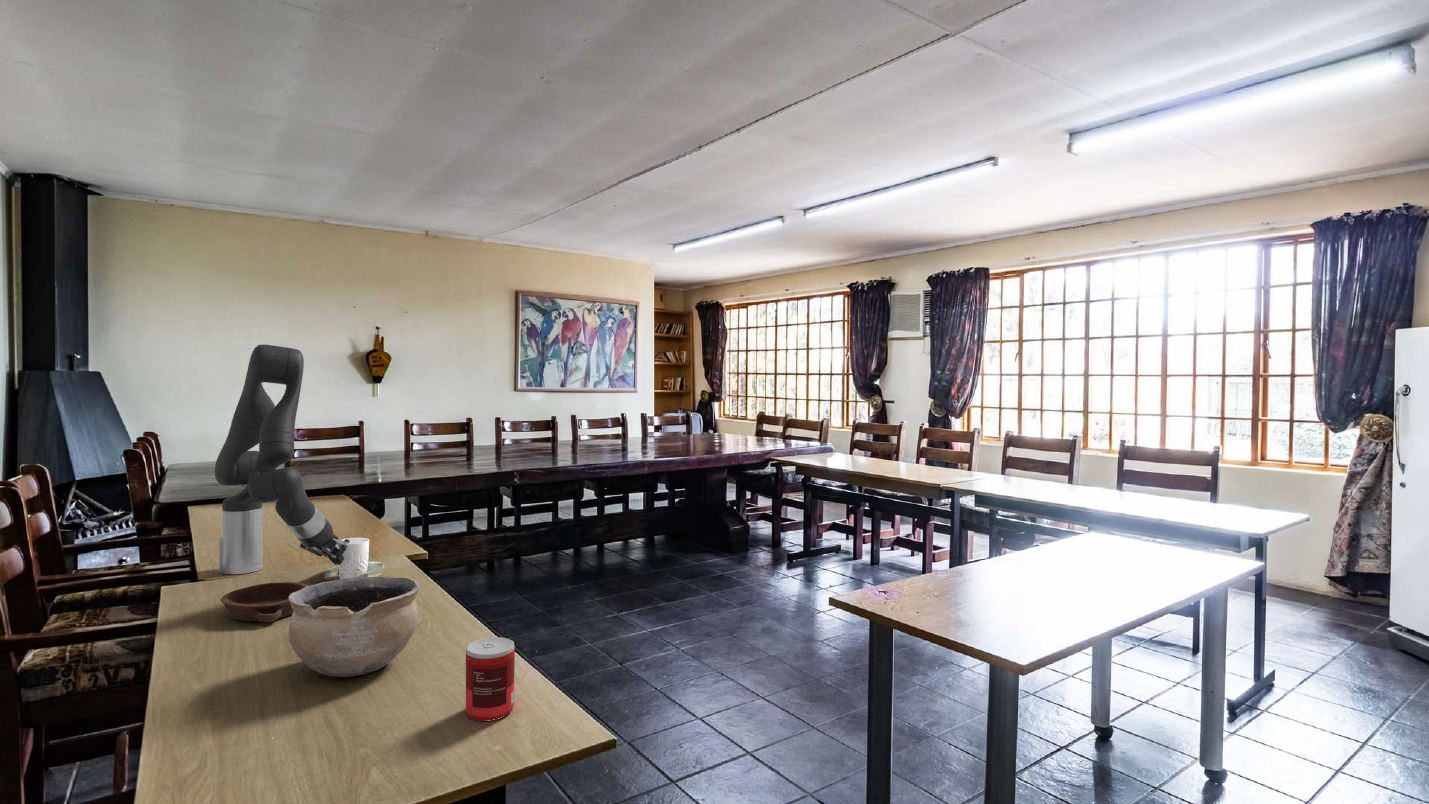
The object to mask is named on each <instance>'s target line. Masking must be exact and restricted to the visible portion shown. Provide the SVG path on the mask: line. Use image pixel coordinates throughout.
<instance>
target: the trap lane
mask: <svg viewBox="0 0 1429 804" xmlns="http://www.w3.org/2000/svg"><path fill="white" fill-rule="evenodd" d="M383 574H385V561H384V562H383V561H368V567H367V573H364V574H362V575H360V576H358V577H362V578H365V577H380V576H381V575H383ZM336 575H339V569H338V565H334V566H332V567H330V568H327V569H325V570H323V571H321V572H318V573H316V574H314V575H310V576H309V577H307V578H303V579H301V580H299V581H297V582H296V581H295V582H296V583H301V584H305V585H308V586H312V585H315V584H319V583H321V582H322V581H323V582H324V581H325V580H327V579H329V578H331V577H333V576H336Z"/></svg>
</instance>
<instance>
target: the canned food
mask: <svg viewBox="0 0 1429 804" xmlns="http://www.w3.org/2000/svg"><path fill="white" fill-rule="evenodd" d="M515 648H516V647H515V642H514V641H513V640H511V639H509V638H506V637H502V636H501V637H500V636H497V637H496V636H492V637H490V636H489V637H484V638H483V637H482V638H479V639H476V640H474V641H471V642H469V643H468V644H467V645H466V647H465V649H466V650H465V712H466V715H467V716H469V717H470V718H469V717H468V718H469V719H471V720H473V719H474V720H473V721H476V720H478V721H477V722H482V721H485V720H486V721H487V720H493V719H498V718H501V717H503V716H506V715H507V714H509V713H510V712H511V711H512V712H513V709H514V705H515V661H516V660H515V657H516V655H515ZM512 712H511V713H512ZM511 713H510V714H511ZM510 714H509V715H510ZM507 716H508V715H507ZM507 716H506V717H507Z"/></svg>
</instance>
